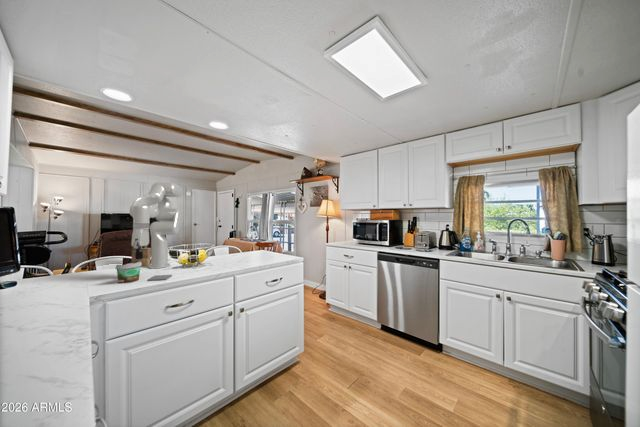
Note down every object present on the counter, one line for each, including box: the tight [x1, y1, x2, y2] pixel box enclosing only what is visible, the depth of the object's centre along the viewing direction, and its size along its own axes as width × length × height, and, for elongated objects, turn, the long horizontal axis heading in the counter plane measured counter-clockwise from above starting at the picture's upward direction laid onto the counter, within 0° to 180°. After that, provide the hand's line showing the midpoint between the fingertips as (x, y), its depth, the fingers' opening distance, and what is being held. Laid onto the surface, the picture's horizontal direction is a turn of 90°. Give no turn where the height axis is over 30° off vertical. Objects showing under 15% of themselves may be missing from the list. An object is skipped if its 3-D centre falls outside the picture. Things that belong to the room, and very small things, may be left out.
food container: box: [115, 260, 142, 284], centre depth 127 cm, size 12×6×10 cm, turn 164°
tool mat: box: [146, 274, 173, 282], centre depth 133 cm, size 9×9×1 cm
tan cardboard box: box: [131, 247, 151, 267], centre depth 135 cm, size 4×8×10 cm, turn 103°
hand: (140, 257), depth 135 cm, fingers closed on tan cardboard box, 3 cm apart
